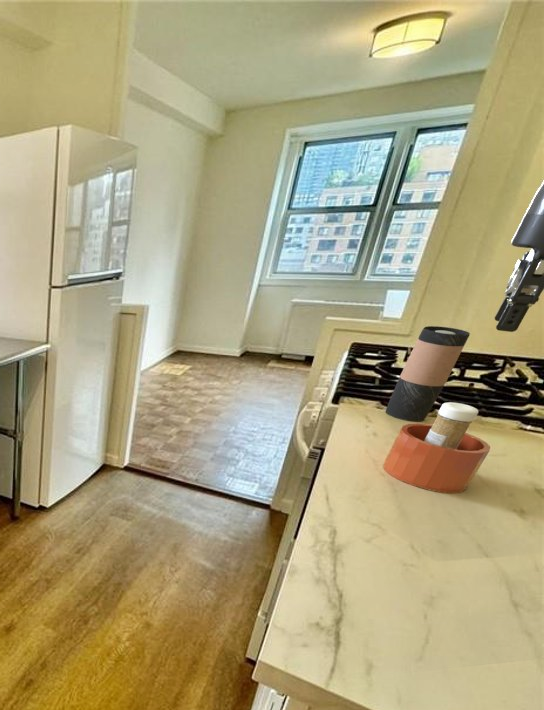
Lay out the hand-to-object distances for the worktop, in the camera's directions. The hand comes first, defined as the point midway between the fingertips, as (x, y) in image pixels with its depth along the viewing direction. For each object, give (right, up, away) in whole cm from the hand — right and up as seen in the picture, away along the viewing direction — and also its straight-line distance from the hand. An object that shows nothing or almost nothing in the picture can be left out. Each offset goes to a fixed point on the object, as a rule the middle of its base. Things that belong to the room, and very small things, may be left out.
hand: (503, 325), depth 76 cm
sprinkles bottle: (0, -24, +13) cm, 28 cm away
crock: (0, -24, +13) cm, 28 cm away
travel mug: (+20, -12, +37) cm, 43 cm away
